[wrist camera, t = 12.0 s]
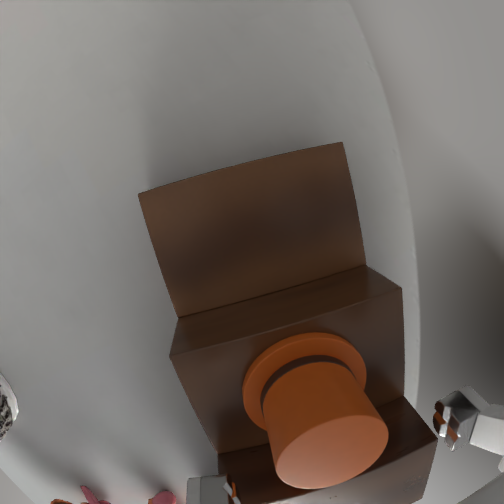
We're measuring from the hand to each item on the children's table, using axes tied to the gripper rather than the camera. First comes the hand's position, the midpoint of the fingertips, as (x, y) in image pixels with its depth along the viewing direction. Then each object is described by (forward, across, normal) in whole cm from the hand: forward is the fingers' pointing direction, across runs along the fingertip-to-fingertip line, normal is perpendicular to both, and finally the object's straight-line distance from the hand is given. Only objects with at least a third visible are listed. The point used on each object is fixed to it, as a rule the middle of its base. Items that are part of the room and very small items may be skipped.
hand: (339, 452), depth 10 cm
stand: (+12, 0, 0) cm, 12 cm away
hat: (+5, 0, 0) cm, 5 cm away
